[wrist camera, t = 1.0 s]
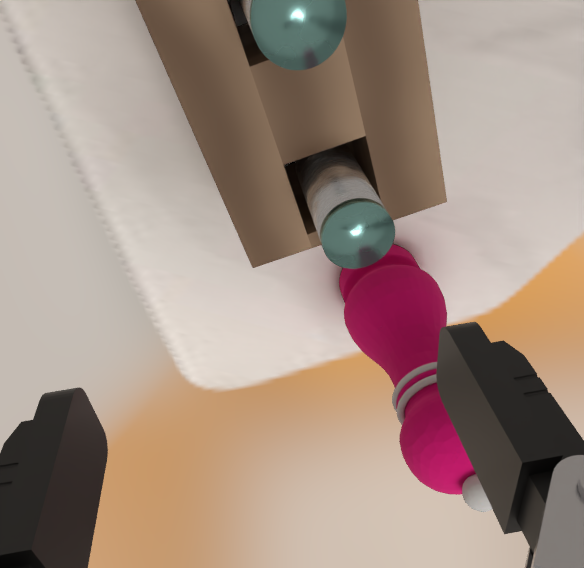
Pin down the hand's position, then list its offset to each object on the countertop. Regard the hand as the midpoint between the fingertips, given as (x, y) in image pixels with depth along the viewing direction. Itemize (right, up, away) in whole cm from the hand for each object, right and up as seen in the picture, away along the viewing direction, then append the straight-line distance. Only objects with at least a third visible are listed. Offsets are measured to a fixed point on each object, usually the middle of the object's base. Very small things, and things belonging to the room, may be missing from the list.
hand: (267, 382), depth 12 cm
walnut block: (0, +16, +19) cm, 25 cm away
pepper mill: (+7, +3, +30) cm, 31 cm away
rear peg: (+2, +9, +18) cm, 21 cm away
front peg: (0, +16, +13) cm, 21 cm away
